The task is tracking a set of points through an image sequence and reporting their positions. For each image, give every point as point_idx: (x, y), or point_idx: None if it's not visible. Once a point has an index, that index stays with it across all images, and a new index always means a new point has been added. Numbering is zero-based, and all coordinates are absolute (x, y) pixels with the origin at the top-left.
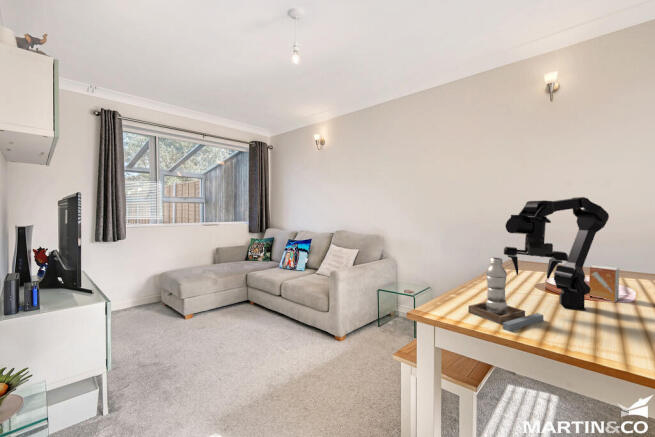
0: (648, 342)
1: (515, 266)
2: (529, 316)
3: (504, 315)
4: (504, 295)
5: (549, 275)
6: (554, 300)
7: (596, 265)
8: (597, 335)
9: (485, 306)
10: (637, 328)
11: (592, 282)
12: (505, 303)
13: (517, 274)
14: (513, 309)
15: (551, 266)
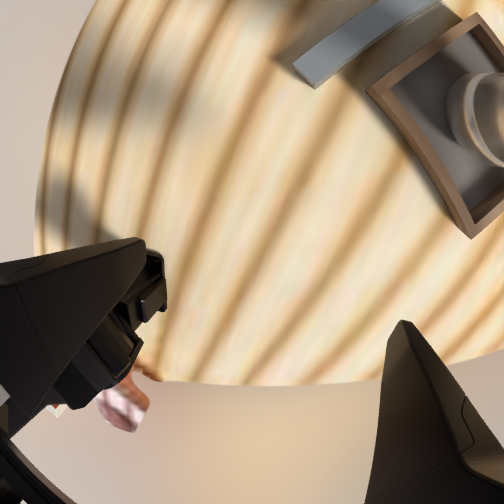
0: (82, 28)
1: (455, 391)
2: (364, 32)
3: (466, 25)
4: (501, 79)
5: (109, 242)
6: (176, 338)
7: (51, 412)
8: (164, 3)
9: (496, 193)
10: (59, 123)
11: None
12: (474, 79)
13: (406, 321)
14: (413, 124)
15: (19, 275)
